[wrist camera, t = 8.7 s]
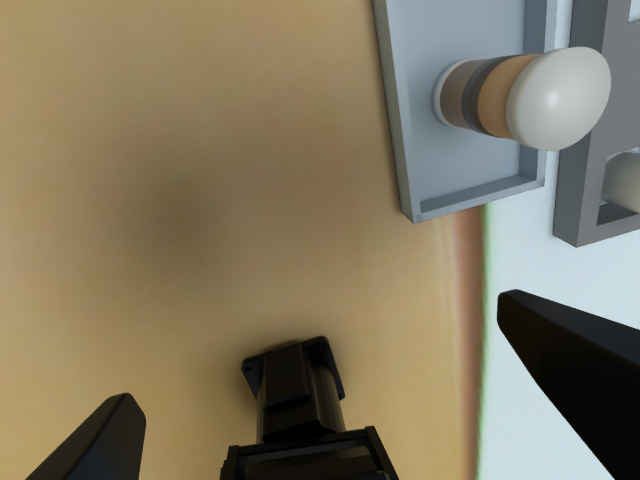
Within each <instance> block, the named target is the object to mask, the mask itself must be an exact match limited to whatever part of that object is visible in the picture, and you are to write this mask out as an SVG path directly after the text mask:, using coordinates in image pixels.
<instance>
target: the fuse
mask: <svg viewBox="0 0 640 480" xmlns="http://www.w3.org/2000/svg"><path fill="white" fill-rule="evenodd" d="M600 201H601V202H605V203H611V204H614V205H617V206H620V207H623V208H625V209H628V210H631V211H634V212H637V213H639V214H640V154H639V153H637V152H635V151H632V150H626V151H622V152H619V153H615V154H612V155H609V156H607V160H606V167H605V173H604V179H603V186H602V192H601V199H600Z"/></svg>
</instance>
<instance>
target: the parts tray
mask: <svg viewBox="0 0 640 480" xmlns="http://www.w3.org/2000/svg"><path fill="white" fill-rule="evenodd" d="M372 4H373V11H374V18H375V25H376V33H377V40H378V47H379V54H380V61H381V68H382V76H383V83H384V90H385V97H386V104H387V111H388V118H389V126H390V133H391V140H392V147H393V154H394V161H395V168H396V176H397V183H398V190H399V197H400V204H401V211H402V213H403V214H404V215H405V216H406V217H407V218H408V219H409V220H410V221H411V222H412V223H413V224H415V223H419V222H422V221H425V220H429V219H432V218H436V217H439V216H443V215H446V214H450V213H453V212H457V211H460V210H463V209H467V208H470V207H474V206H477V205H481V204H484V203H488V202H491V201H494V200H498V199H501V198H505V197H508V196H512V195H515V194H519V193H522V192H525V191H529V190H532V189H536V188H539V187H543V186H544V182H545V168H546V154H547V151H544V150H540V149H536V148H532V147H528V146H525V145H522V144H520V143H519V142H517V141H515V140H511V139H507V138H497V137H493V136H489V135H485V134H481V133H478V132H475V131H473V130H469V129H456V128H452V127H448V126H445V125H443V124H442V123H441V122H439V121H438V119H437V118H436V117H435V115H434V113H433V110H432V106H431V93H432V89H433V86H434V83H435V81H436V79H437V77H438V76H439V74H440V73H441V72H442V71H443V70H444V69H445V68H446V67H447V66H448V65H450V64H451V63H453V62H455V61H458V60H461V59H468V58H481V59H491V58H495V57H500V56H509V55H519V54H525V55H533V54H543V53H545V52H548V51H551V50H554V41H555V27H556V13H557V0H372Z"/></svg>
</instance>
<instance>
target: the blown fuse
mask: <svg viewBox="0 0 640 480" xmlns="http://www.w3.org/2000/svg"><path fill="white" fill-rule="evenodd" d="M610 89H611V74H610V69H609V66H608V64H607V62H606V60H605V58H604V57H603V56H602V55H601V54H600V53H599V52H597V51H596V50H594V49H591V48H588V47H572V48H562V49H555V50H551V51H548V52H545V53H543V54H533V55H525V54H519V55H509V56H500V57H495V58H491V59H481V58H468V59H461V60H458V61H455V62H453V63H451V64H450V65H448V66H447V67H446V68H445V69H444V70H443V71H442V72H441V73H440V74H439V76H438V77H437V79H436V81H435V83H434V86H433V89H432V93H431V106H432V110H433V113H434V115H435V117H436V118H437V119H438V121H439V122H441V123H442V124H443V125H445V126H448V127H452V128H456V129H469V130H473V131H475V132H478V133H481V134H485V135H489V136H493V137H497V138H507V139H511V140H515V141H517V142H519V143H520V144H522V145H525V146H528V147H532V148H536V149H540V150H544V151H556V150H561V149H564V148H567V147H569V146H571V145H573V144H574V143H576V142H578V141H579V140H580V139H582V138H583V137H584V136H585V135H586V134H587V133H588V132H589V131H590V130H591V129H592V128H593V127H594V125H595V124H596V123H597V121H598V120H599V118H600V117H601V115H602V113H603V111H604V109H605V107H606V104H607V101H608V98H609V94H610Z"/></svg>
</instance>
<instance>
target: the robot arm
mask: <svg viewBox="0 0 640 480" xmlns="http://www.w3.org/2000/svg"><path fill="white" fill-rule="evenodd" d="M497 323H498V326H499V328H500V330H501V331H502V333H503V334H504V336H505V337H506V339H507V340H508V342H509V343H510V345H511V346H512V348H513V349H514V351H515V352H516V354H517V355H518V357H519V358H520V360H521V361H522V363H523V364H524V366H525V367H526V369H527V370H528V372H529V373H530V375H531V376H532V378H533V379H534V380H535V382H536V383H537V385H538V386H539V387H540V388H541V390H542V391H543V392H544V394H545V395H546V396H547V397H548V398H549V400H550V401H551V402H552V403H553V405H554V406H555V407H556V408H557V409H558V411H559V412H560V413H561V414H562V416H563V417H564V418H565V419H566V420H567V422H568V423H569V424H570V425H571V427H572V428H573V429H574V430H575V432H576V433H577V434H578V435H579V436H580V438H581V439H582V440H583V441H584V443H585V444H586V445H587V446H588V447H589V449H590V450H591V451H592V452H593V454H594V455H595V456H596V457H597V458H598V460H599V461H600V462H601V463H602V465H603V466H604V467H605V468H606V470H607V471H608V472H609V473H610V474H611V476H612V477H613V478H614V479H615V480H640V330H639V329H636V328H633V327H630V326H627V325H624V324H621V323H618V322H615V321H612V320H609V319H606V318H603V317H600V316H597V315H594V314H590V313H587V312H584V311H581V310H578V309H575V308H572V307H569V306H566V305H563V304H560V303H557V302H554V301H551V300H548V299H545V298H542V297H539V296H536V295H533V294H530V293H527V292H524V291H521V290H518V289H513V290H509V291H506V292H502V293H500V294H499V296H498V303H497ZM321 344H324V345H321ZM247 366H251V367H247ZM241 370H242V372H243V374H244V376H245V378H246V380H247V382H248V384H249V386H250V388H251V390H252V392H253V394H254V396H255V398H256V400H257V433H256V444H253V445H246V446H239V445H234V446H229V449H228V455H227V460H224V464H223V467H222V468H221V471H220V480H399V478H398V476H397V474H396V471H395V469H394V467H393V465H392V463H391V461H390V459H389V457H388V455H387V452H386V450H385V448H384V446H383V444H382V442H381V440H380V438H379V435H378V433H377V431H376V429H375V427H374V426H367V427H365V428H364V429H357V430H350V431H346V428H345V424H344V419H343V415H342V411H341V407H340V402H339V401H340V400H342V399H343V398H344V397H345V393H344V389H343V386H342V383H341V380H340V376H339V373H338V370H337V367H336V364H335V360H334V357H333V354H332V351H331V347H330V344H329V341H328V339H327V338H324V337H321V338H317V339H314V340H310V341H307V342H304V343H300V344H297V345H294V346H290V347H287V348H284V349H280V350H277V351H274V352H270V353H267V354H263V355H260V356H257V357H253V358H250V359H247V360H244V361H243V362H242V366H241ZM145 429H146V418H145V415H144V413H143V411H142V410H141V408H140V407H139V405H138V404H137V402H136V401H135V399H134V398H133V396H132V395H131V394H130V393H122V394H118V395H114V396H111V397H109V398H107V399H106V400H105V401H104V402H103V403H102V404H101V405H100V406H99V407H98V408H97V409H96V410H95V411H94V412H93V413H92V414H91V415H90V416H89V417H88V418H87V419H86V420H85V421H84V422H83V423H82V424H81V425H80V426H79V427H78V428H77V429H76V430H75V431H74V432H73V433H72V434H71V435H70V436H69V437H68V438H67V439H66V440H65V441H64V442H63V443H62V444H61V445H60V446H59V447H58V448H57V449H56V450H54V451H53V452H52V453H51V454H50V455H49V456H48V457H47V458H46V459H45V460H44V461H43V462H42V463H41V464H40V465H39V466H38V467H37V468H36V469H35V470H34V471H33V472H32V473H31V474H30V475H29V476H28V477H27V478H26V479H25V480H138V479H139V471H140V464H141V457H142V450H143V443H144V436H145Z"/></svg>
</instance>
